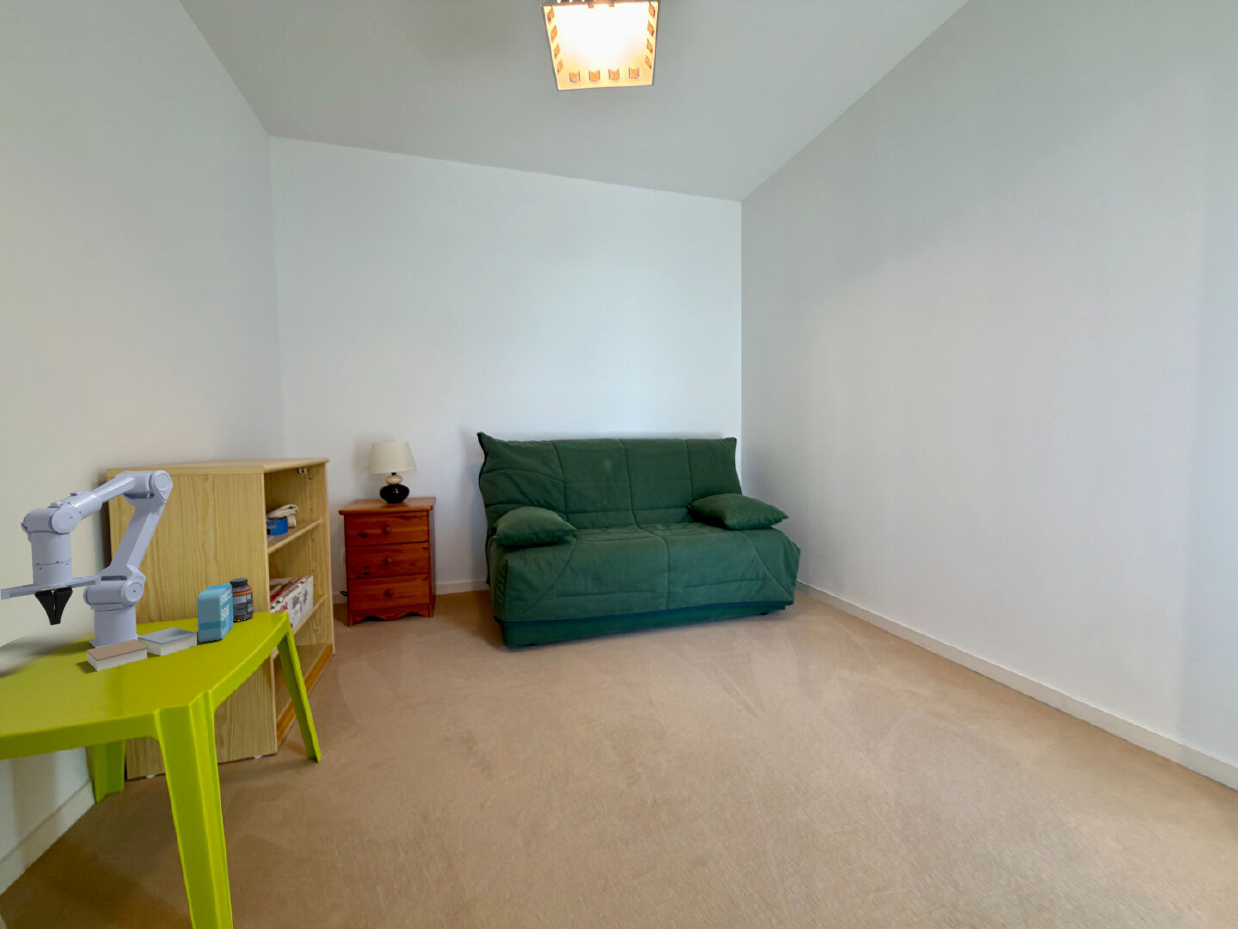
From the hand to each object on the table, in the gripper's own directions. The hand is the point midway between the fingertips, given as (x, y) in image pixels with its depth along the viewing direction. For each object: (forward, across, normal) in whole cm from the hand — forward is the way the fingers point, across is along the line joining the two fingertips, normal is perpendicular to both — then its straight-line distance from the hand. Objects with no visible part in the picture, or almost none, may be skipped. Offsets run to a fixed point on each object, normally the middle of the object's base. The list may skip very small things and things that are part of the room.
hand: (55, 623), depth 111 cm
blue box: (+10, +27, -7) cm, 29 cm away
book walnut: (+10, +8, -7) cm, 15 cm away
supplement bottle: (+10, +35, +3) cm, 36 cm away
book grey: (+10, +17, -7) cm, 21 cm away
